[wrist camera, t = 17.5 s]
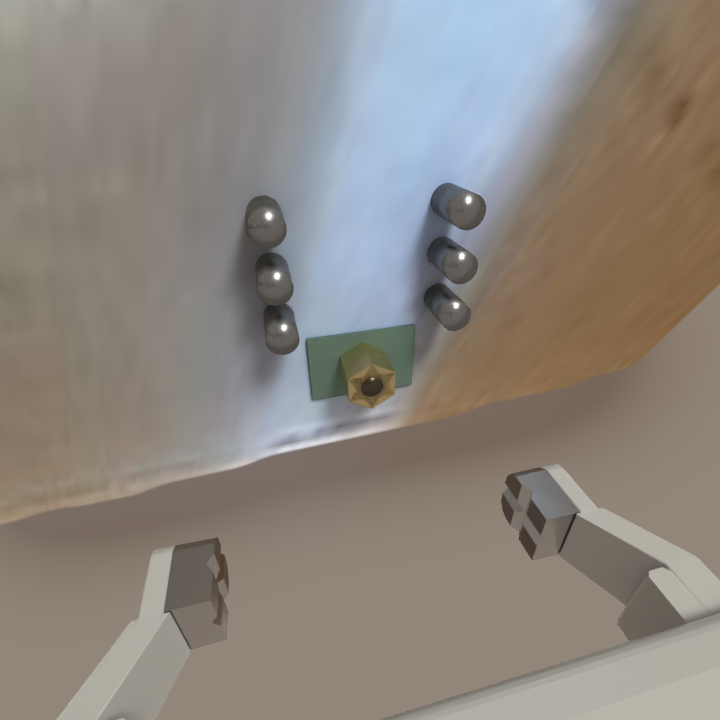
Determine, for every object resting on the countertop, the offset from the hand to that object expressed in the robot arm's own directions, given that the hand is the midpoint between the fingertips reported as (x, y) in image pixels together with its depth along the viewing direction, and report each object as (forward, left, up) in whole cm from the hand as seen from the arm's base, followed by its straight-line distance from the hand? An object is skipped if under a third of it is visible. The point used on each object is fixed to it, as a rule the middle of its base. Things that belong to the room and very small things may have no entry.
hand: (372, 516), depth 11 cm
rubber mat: (+7, -16, -31) cm, 36 cm away
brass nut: (+7, -16, -31) cm, 35 cm away
